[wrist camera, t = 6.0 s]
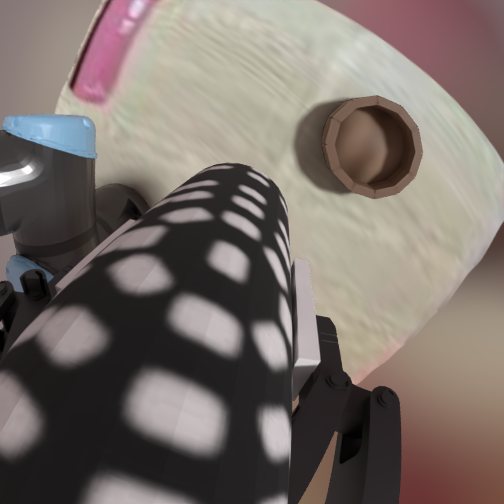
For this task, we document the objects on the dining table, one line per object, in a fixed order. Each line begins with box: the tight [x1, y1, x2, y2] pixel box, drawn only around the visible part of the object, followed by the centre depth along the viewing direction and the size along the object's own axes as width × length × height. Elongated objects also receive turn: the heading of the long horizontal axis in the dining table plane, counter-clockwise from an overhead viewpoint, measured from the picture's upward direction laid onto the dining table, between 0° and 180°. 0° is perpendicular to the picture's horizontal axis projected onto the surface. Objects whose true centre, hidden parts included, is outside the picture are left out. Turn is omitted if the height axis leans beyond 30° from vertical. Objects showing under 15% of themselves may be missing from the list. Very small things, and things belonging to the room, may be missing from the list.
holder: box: [321, 95, 423, 199], centre depth 32 cm, size 13×13×4 cm
